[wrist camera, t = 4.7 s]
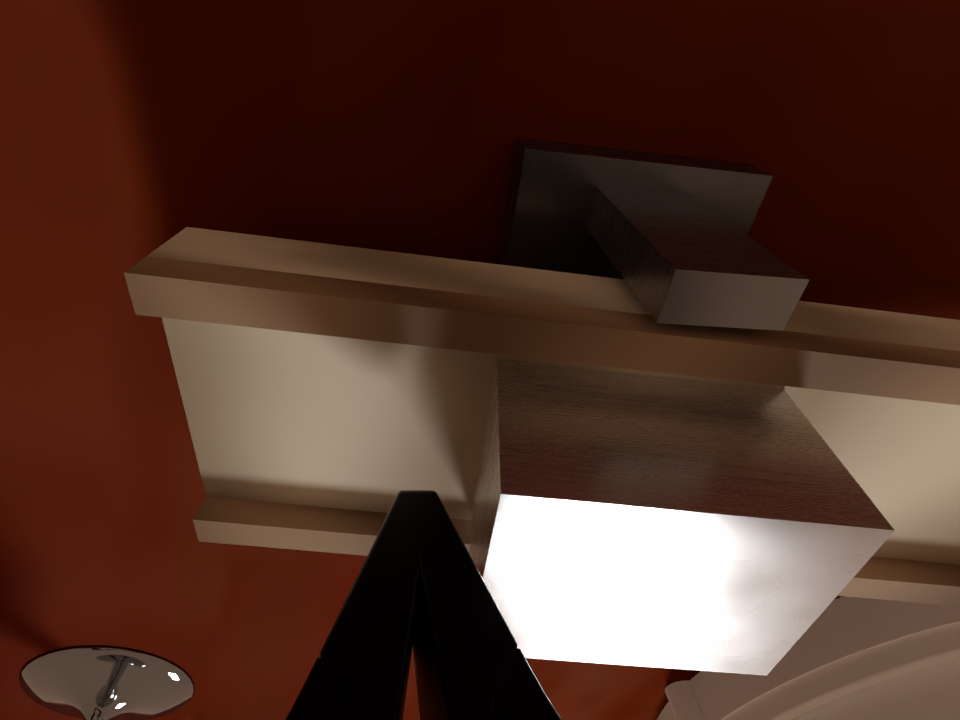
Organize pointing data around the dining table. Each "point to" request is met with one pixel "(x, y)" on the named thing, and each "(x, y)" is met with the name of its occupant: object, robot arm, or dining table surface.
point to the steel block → (660, 519)
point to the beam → (468, 381)
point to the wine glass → (106, 683)
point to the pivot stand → (651, 231)
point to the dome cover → (843, 670)
